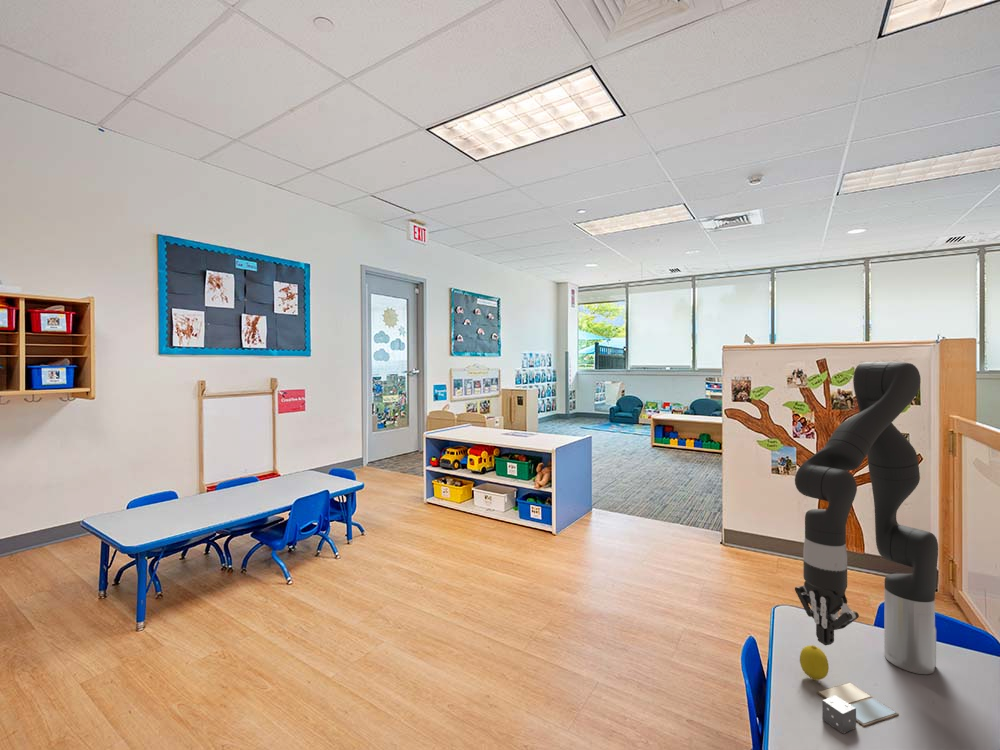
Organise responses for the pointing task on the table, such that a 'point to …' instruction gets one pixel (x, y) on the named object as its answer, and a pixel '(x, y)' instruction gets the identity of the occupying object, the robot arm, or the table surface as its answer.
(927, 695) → the table surface
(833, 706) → the die
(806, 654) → the lemon
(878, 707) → the board
